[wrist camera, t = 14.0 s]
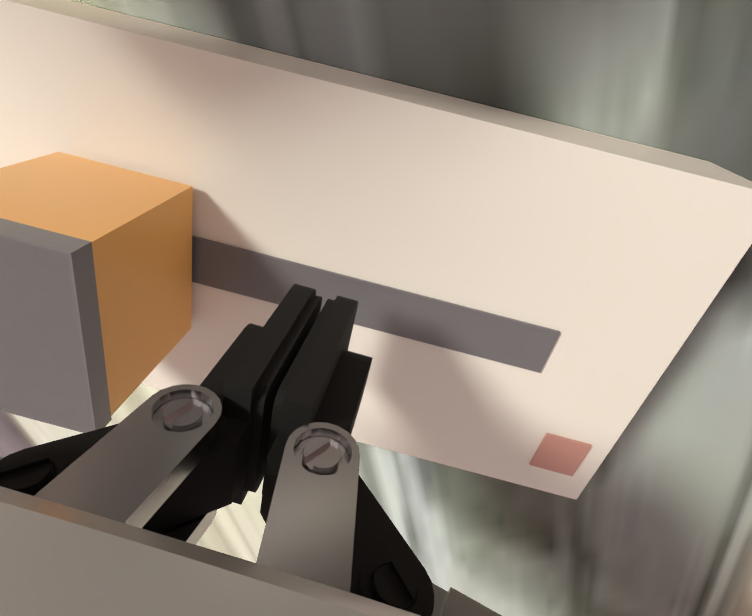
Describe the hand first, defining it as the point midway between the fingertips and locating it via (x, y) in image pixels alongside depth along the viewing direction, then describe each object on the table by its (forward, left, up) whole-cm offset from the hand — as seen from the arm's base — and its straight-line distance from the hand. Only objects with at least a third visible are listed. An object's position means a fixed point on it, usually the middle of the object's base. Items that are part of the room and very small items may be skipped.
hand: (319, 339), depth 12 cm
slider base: (+1, 0, -7) cm, 7 cm away
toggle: (+7, 0, -3) cm, 7 cm away
